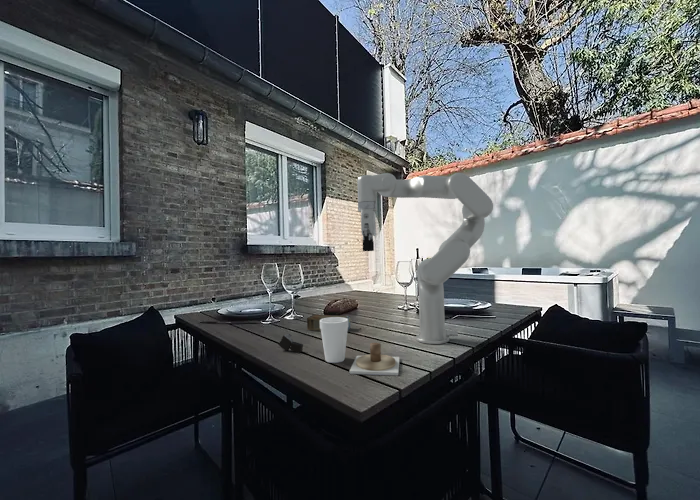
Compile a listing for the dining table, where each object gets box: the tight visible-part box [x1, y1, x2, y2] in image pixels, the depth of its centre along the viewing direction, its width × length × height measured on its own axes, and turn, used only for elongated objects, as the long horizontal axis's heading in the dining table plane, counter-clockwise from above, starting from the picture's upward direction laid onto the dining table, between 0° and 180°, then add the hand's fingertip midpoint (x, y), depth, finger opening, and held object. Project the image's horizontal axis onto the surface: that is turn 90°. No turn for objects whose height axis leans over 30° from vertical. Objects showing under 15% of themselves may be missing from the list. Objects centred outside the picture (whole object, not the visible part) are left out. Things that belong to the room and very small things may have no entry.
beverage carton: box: [306, 314, 351, 332], centre depth 152 cm, size 8×19×6 cm, turn 73°
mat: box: [349, 355, 401, 376], centre depth 102 cm, size 14×14×1 cm
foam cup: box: [320, 317, 349, 364], centre depth 110 cm, size 10×9×13 cm
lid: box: [356, 342, 396, 371], centre depth 102 cm, size 12×12×6 cm
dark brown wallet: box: [277, 333, 304, 354], centre depth 120 cm, size 9×2×6 cm
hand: (368, 251), depth 131 cm, fingers open, 9 cm apart
